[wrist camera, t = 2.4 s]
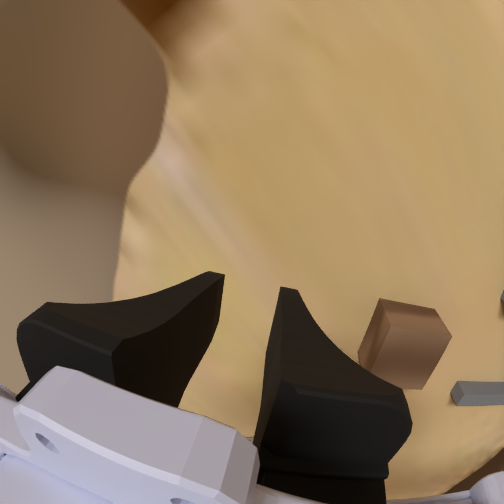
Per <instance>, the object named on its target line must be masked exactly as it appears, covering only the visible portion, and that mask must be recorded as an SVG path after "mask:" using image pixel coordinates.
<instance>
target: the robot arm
mask: <svg viewBox="0 0 504 504" xmlns="http://www.w3.org/2000/svg"><path fill="white" fill-rule="evenodd" d="M224 278H225V274H220V273H215V272H211V271H208V272H205V273H203V274H200V275H198V276H196V277H194V278H191V279H189V280H187V281H185V282H182V283H180V284H178V285H175V286H172V287H170V288H167V289H164V290H162V291H159V292H156V293H153V294H149V295H146V296H142V297H138V298H133V299H128V300H121V301H115V302H108V303H96V304H68V303H52V302H46V303H45V304H44V305H42V306H41V307H40V308H38V309H37V310H36V311H35V312H33V313H32V314H31V315H29V316H28V317H27V318H26V319H24V320H23V321H22V322H20V323H19V326H18V328H17V343H18V348H19V352H20V355H21V358H22V361H23V363H24V367H25V369H26V372H27V375H28V378H29V380H30V383H28V384H27V386H26V387H25V388H24V389H23V390H22V391H21V392H20V393H19V394H18V395H17V394H15V393H14V392H12V391H11V390H10V389H8V388H7V387H5V386H4V385H3V384H1V383H0V504H504V471H501V472H496V473H492V474H489V475H487V476H485V477H484V478H482V479H480V480H479V481H478V482H477V483H476V484H475V485H474V486H473V487H472V488H471V489H470V490H467V491H462V492H456V493H450V494H444V495H437V496H429V497H420V498H409V499H395V500H386V493H385V484H384V479H386V478H387V477H388V475H389V469H388V462H389V461H390V460H391V459H392V458H393V456H394V455H395V454H396V453H397V452H398V450H399V449H400V448H401V447H402V445H403V444H404V443H405V442H406V440H407V438H408V437H409V435H410V433H411V429H412V424H413V423H412V420H411V416H410V411H409V408H408V404H407V401H406V398H405V395H404V393H403V390H402V389H401V388H399V387H397V386H395V385H393V384H391V383H389V382H387V381H385V380H383V379H381V378H379V377H377V376H375V375H374V374H372V373H371V372H369V371H367V370H366V369H364V368H363V367H361V366H360V365H359V364H357V363H356V362H354V361H353V360H352V359H351V358H349V357H348V356H347V355H346V354H345V353H343V352H342V351H341V350H340V349H339V348H338V347H337V346H336V345H335V344H334V343H333V342H332V341H331V340H330V339H329V338H328V337H327V336H326V335H325V333H324V332H323V331H322V330H321V328H320V327H319V326H318V324H317V323H316V322H315V320H314V319H313V317H312V316H311V314H310V312H309V311H308V309H307V307H306V305H305V303H304V302H303V300H302V298H301V296H300V293H299V292H298V290H296V289H291V288H286V287H280V292H279V296H278V301H277V305H276V310H275V314H274V319H273V323H272V327H271V332H270V336H269V341H268V346H267V350H266V357H265V368H264V379H263V389H262V400H261V407H260V413H259V417H258V422H257V426H256V431H255V435H254V440H253V444H252V443H251V442H250V441H248V440H247V439H246V438H245V437H244V436H243V435H241V434H240V433H239V432H238V431H237V430H236V429H235V428H233V427H231V426H228V425H226V424H223V423H221V422H218V421H216V420H214V419H211V418H209V417H207V416H204V415H200V414H197V413H193V412H190V411H186V410H183V409H180V408H178V406H179V403H180V401H181V398H182V396H183V393H184V391H185V389H186V387H187V385H188V383H189V381H190V379H191V377H192V376H193V374H194V372H195V370H196V368H197V367H198V365H199V363H200V361H201V359H202V358H203V356H204V354H205V352H206V350H207V349H208V347H209V345H210V343H211V341H212V338H213V336H214V333H215V331H216V328H217V325H218V322H219V317H220V309H221V301H222V293H223V286H224Z"/></svg>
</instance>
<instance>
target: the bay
mask: <svg viewBox="0 0 504 504" xmlns="http://www.w3.org/2000/svg"><path fill="white" fill-rule="evenodd" d="M501 299H502V300H503V301H504V292H503V294H502V296H501ZM451 395H452V397H453V399H454V402H455V404H456V406H487V405H504V382H469V381H457V383H456V384H455V386H454V388H453V389H452V391H451Z"/></svg>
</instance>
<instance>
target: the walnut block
mask: <svg viewBox="0 0 504 504" xmlns="http://www.w3.org/2000/svg"><path fill="white" fill-rule="evenodd" d="M451 338H452V335H451V334H450V332H449V331H448V329H447V327H446V326H445V324H444V323H443V321H442V320H441V318H440V316H439V315H438V313H437V312H436V310H435V309H431V308H426V307H421V306H416V305H411V304H406V303H401V302H396V301H391V300H386V299H381V298H379V301H378V303H377V306H376V308H375V311H374V314H373V316H372V319H371V321H370V324H369V326H368V329H367V331H366V334H365V336H364V338H363V341H362V343H361V346H360V348H359V350H358V355H359V360H360V365H361V367H363V368H364V369H366V370H367V371H369V372H371V373H372V374H374V375H375V376H377V377H379V378H381V379H383V380H385V381H387V382H389V383H391V384H393V385H395V386H397V387H399V388H408V389H420V390H422V389H423V387H424V386H425V384H426V382H427V381H428V379H429V377H430V376H431V374H432V372H433V371H434V369H435V367H436V365H437V364H438V362H439V360H440V358H441V356H442V355H443V353H444V351H445V349H446V347H447V345H448V343H449V341H450V340H451Z"/></svg>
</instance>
